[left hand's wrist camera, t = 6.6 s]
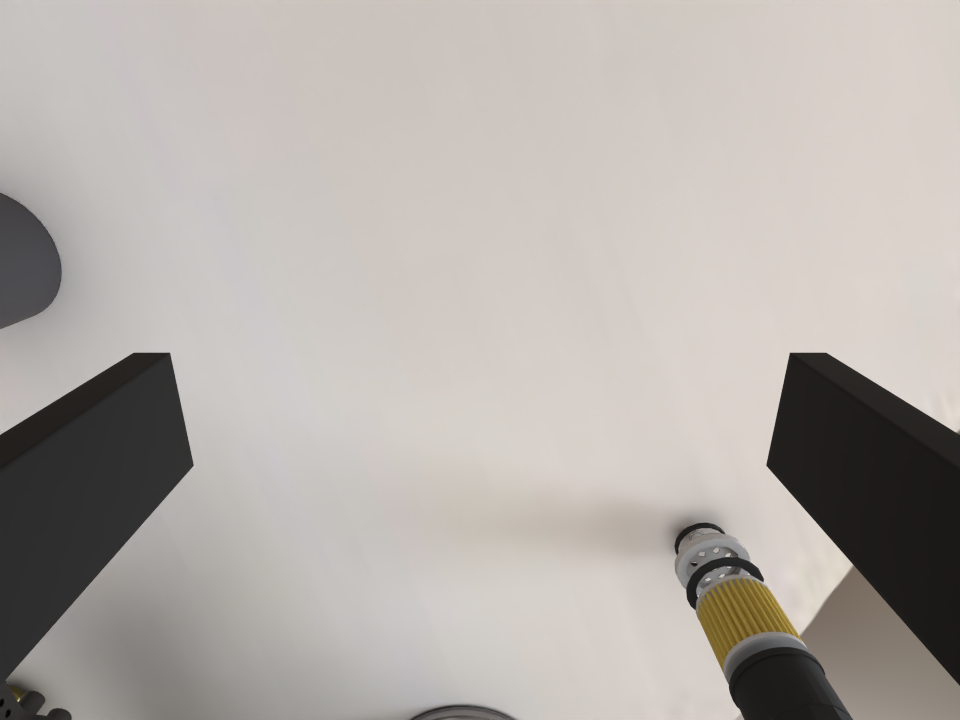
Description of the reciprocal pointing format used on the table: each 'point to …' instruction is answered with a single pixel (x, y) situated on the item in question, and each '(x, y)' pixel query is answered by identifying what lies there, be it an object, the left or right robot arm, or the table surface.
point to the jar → (25, 264)
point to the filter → (752, 634)
